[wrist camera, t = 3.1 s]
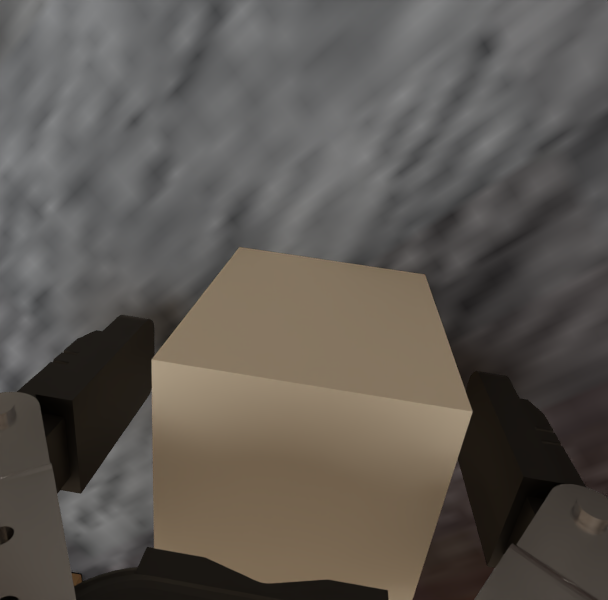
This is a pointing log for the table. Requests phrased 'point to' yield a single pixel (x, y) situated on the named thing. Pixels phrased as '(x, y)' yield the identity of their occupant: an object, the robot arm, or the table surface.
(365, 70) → the table surface
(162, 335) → the table surface
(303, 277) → the block
